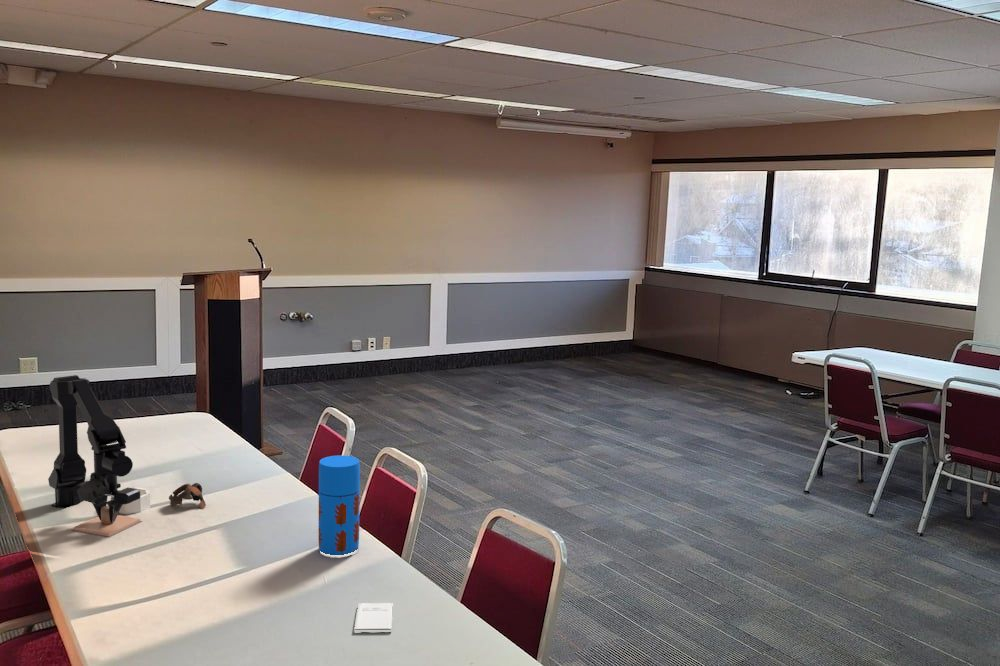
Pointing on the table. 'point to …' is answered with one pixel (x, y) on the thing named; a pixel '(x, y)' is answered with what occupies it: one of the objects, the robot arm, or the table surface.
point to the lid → (106, 524)
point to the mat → (107, 536)
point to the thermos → (339, 504)
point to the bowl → (137, 503)
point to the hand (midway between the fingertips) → (107, 521)
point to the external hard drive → (374, 616)
